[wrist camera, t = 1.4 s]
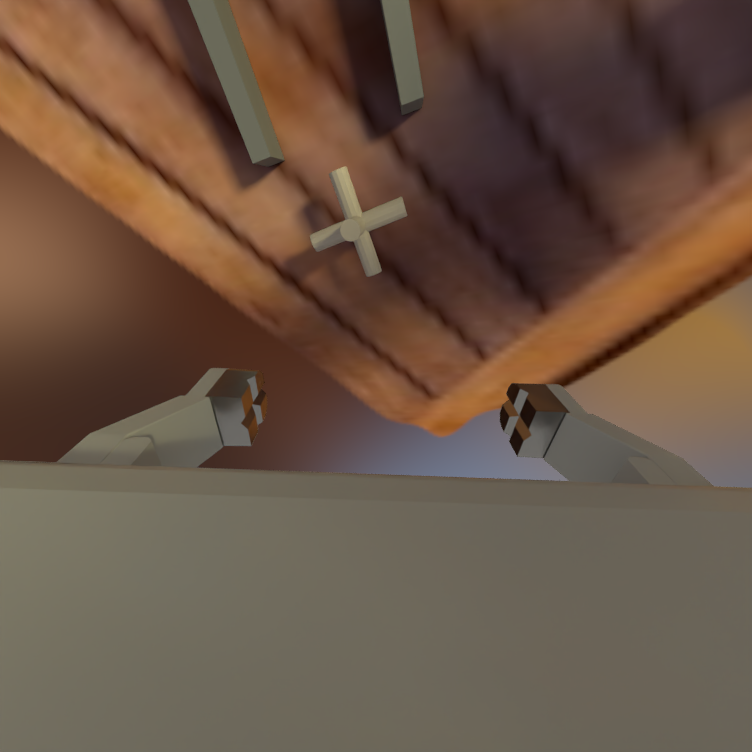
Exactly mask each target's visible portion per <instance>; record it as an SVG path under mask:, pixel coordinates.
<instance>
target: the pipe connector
mask: <svg viewBox="0 0 752 752" xmlns="http://www.w3.org/2000/svg"><path fill="white" fill-rule="evenodd" d="M329 176H330V179H331V182H332V184H333V187H334V190H335V192H336V195H337V198H338V201H339V203H340V206H341V209H342V211H343V214H344V217H345V219H346V220H344V221H341V222H339V223H337V224H334V225H332V226H330V227H327V228H325V229H322V230H320V231H318V232H315V233H313V234H311V235H310V239H311V242H312V245H313V247H314V249H315V250H316V251H317V252H319V251H321V250H324V249H326V248H329V247H331V246H334V245H336V244H339V243H341V242H344V241H350V242H352V241H354V244H355V247H356V249H357V252H358V255H359V257H360V260H361V263H362V265H363V268H364V271H365V274H366V276H367V277H369V276H373V275H375V274H378V273H380V272H381V271H382V269H381V266H380V263H379V260H378V257H377V255H376V252H375V249H374V246H373V243H372V240H371V237H370V234H369V231H371V230H374V229H376V228H379V227H381V226H384V225H386V224H389V223H391V222H394V221H396V220H399V219H401V218H404V217H406V216H407V213H406V209H405V205H404V202H403V198H402V196H401V197H399V198H396V199H394V200H392V201H389V202H387V203H384V204H382V205H380V206H377V207H375V208H373V209H370V210H368V211H365V212H363V213H362V211H361V208H360V205H359V202H358V199H357V196H356V193H355V190H354V187H353V185H352V182H351V179H350V176H349V173H348V170H347V167H342V168H339V169H337V170H335V171H333V172H331V173H330V174H329Z"/></svg>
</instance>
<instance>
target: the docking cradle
mask: <svg viewBox="0 0 752 752" xmlns="http://www.w3.org/2000/svg"><path fill="white" fill-rule="evenodd" d="M188 2H189V5H190V7H191V10H192V12H193V15H194V17H195V20H196V22H197V25H198V27H199V30H200V32H201V35H202V37H203V40H204V42H205V45H206V47H207V50H208V52H209V55H210V57H211V60H212V62H213V65H214V67H215V70H216V72H217V75H218V77H219V80H220V82H221V85H222V87H223V90H224V92H225V95H226V97H227V100H228V102H229V105H230V108H231V110H232V113H233V115H234V118H235V120H236V123H237V125H238V128H239V130H240V133H241V135H242V138H243V140H244V143H245V145H246V148H247V150H248V153H249V155H250V158H251V160H252V163H253V164H257V165H262V166H267V167H269V166H272V165H274V164H277V163H279V162H282V161H285V160H284V157H283V154H282V151H281V149H280V146H279V143H278V140H277V137H276V134H275V132H274V129H273V126H272V123H271V120H270V118H269V115H268V112H267V109H266V106H265V103H264V101H263V98H262V95H261V92H260V89H259V87H258V84H257V81H256V78H255V75H254V73H253V70H252V67H251V64H250V61H249V58H248V56H247V53H246V50H245V47H244V44H243V42H242V39H241V36H240V33H239V30H238V27H237V25H236V22H235V19H234V16H233V13H232V11H231V8H230V5H229V2H228V0H188ZM380 3H381V8H382V14H383V19H384V24H385V29H386V35H387V40H388V45H389V50H390V56H391V61H392V66H393V71H394V77H395V82H396V87H397V93H398V98H399V103H400V108H401V114H402V115H405V114H407V113H410V112H412V111H415V110H418V109H420V108H422V104H423V99H424V94H423V88H422V82H421V75H420V69H419V63H418V56H417V50H416V44H415V37H414V31H413V25H412V19H411V12H410V6H409V0H380Z"/></svg>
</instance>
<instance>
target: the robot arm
mask: <svg viewBox="0 0 752 752" xmlns="http://www.w3.org/2000/svg"><path fill="white" fill-rule="evenodd" d="M264 383H265V382H264V377H263V373H262V372H261V371H256V370H242V369H228V368H210V369H209V370H208V372H207V373H206V374H205V375H204V376H203V377H202V378H201V379H200V380H199V381H198V383H197V384H196V385H195V386H194V387H193V388H192V389H191V390H190V391H189V392H188V394H187V395H186V396H178V397H176V398H173V399H171V400H169V401H166V402H164V403H161V404H159V405H157V406H154V407H152V408H149V409H147V410H145V411H143V412H140V413H138V414H135V415H133V416H131V417H128V418H126V419H123V420H121V421H119V422H116V423H114V424H112V425H109V426H107V427H104V428H102V429H100V430H97V431H95V432H92V433H90V434H89V435H87V436H86V437H85V438H84V439H83V440H82V441H81V442H79V443H78V444H77V445H76V446H75V447H74V448H72V449H71V450H70V451H69V452H68V453H67V454H66V455H65V456H63V457H62V458H61V459H60V460H59V461H57V462H56V463H55V462H28V461H1V460H0V752H752V488H742V487H741V488H740V487H714V486H713V485H712V484H711V483H710V482H709V481H707V480H706V479H705V478H704V477H703V476H702V475H701V474H699V473H698V472H697V471H696V470H695V469H694V468H693V467H692V466H690V465H689V464H688V463H687V462H686V461H685V460H684V459H682V458H681V457H679V456H677V455H675V454H673V453H671V452H669V451H667V450H665V449H663V448H661V447H659V446H657V445H655V444H653V443H650V442H648V441H646V440H644V439H642V438H640V437H638V436H636V435H634V434H632V433H630V432H628V431H626V430H624V429H622V428H620V427H618V426H616V425H614V424H612V423H610V422H608V421H605V420H604V419H602V418H600V417H598V416H596V415H593V414H588V413H587V412H586V411H585V410H584V409H583V408H582V407H581V406H580V405H579V404H578V403H577V402H576V401H575V400H574V399H573V398H572V396H571V395H570V394H569V393H568V392H567V391H566V390H565V389H564V388H563V387H562V386H560V385H558V384H518V383H512V384H511V385H510V386H509V388H508V391H507V393H506V394H507V396H508V399H509V400H508V401H506V402H505V403H504V404H503V405H502V408H501V411H500V423H501V427H502V429H503V431H504V432H505V433H506V434H508V435H510V436H511V438H510V441H509V442H510V444H511V446H512V448H513V450H514V451H515V453H516V455H517V457H532V458H544V460H545V461H546V462H547V463H548V464H550V465H551V466H552V467H553V468H554V469H556V470H557V471H558V472H559V473H560V474H562V475H563V476H564V477H565V478H567V479H568V480H569V481H549V480H520V479H494V478H466V477H437V476H410V475H383V474H355V473H354V474H353V473H329V472H328V473H327V472H301V471H274V470H273V471H272V470H247V469H219V468H196V467H198V466H199V465H200V464H201V463H203V462H204V461H205V460H207V459H208V458H209V457H211V456H212V455H213V454H214V453H216V452H217V451H219V450H220V449H221V448H222V447H223V446H252V444H253V441H254V439H255V437H256V435H257V433H258V426H257V425H258V424H260V423H261V422H263V420H264V418H265V416H266V411H267V395H266V393H265V392H264V391H263V390H262V389H261V388H262V386H263V384H264Z"/></svg>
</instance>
